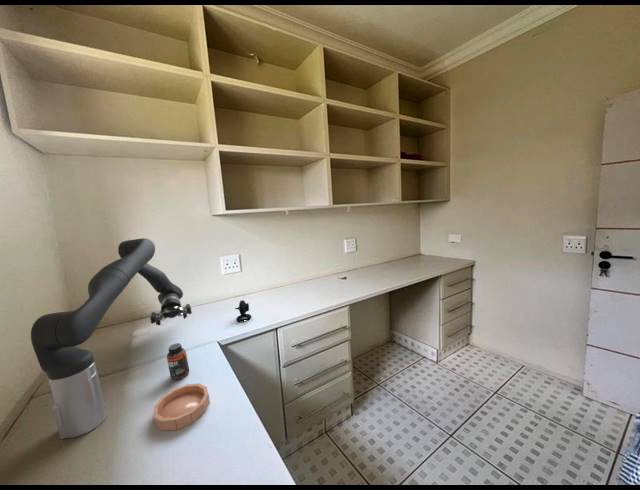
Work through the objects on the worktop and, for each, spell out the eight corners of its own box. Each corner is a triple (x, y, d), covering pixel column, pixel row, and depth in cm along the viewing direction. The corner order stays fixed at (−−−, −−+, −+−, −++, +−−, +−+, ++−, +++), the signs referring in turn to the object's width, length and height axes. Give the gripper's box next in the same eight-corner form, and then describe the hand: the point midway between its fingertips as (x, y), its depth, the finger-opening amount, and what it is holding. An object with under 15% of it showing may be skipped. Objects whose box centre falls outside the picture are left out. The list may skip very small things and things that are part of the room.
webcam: (250, 321, 131) (248, 302, 129) (235, 323, 130) (232, 304, 128) (252, 314, 139) (250, 297, 137) (237, 316, 137) (235, 299, 136)
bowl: (154, 439, 66) (152, 429, 65) (156, 405, 78) (154, 396, 77) (212, 414, 73) (210, 404, 72) (205, 385, 85) (204, 377, 84)
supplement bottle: (185, 367, 96) (180, 339, 94) (192, 373, 92) (187, 344, 90) (167, 376, 91) (162, 347, 89) (174, 383, 87) (169, 352, 86)
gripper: (150, 302, 108) (148, 315, 94) (187, 294, 115) (190, 305, 101) (153, 319, 109) (151, 334, 95) (190, 309, 116) (193, 323, 103)
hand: (171, 319), depth 98 cm, fingers open, 8 cm apart
